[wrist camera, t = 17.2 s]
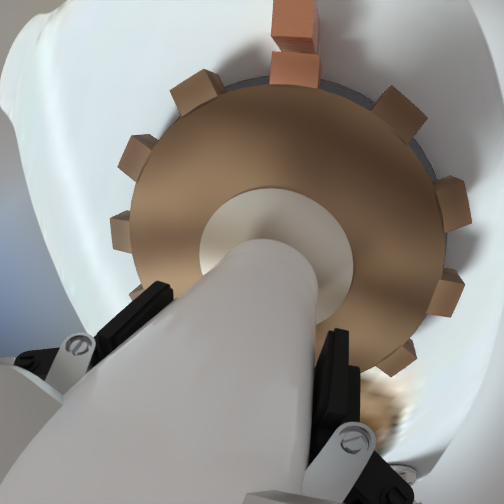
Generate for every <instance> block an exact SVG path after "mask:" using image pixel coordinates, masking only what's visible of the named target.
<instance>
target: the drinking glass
mask: <svg viewBox="0 0 504 504" xmlns="http://www.w3.org/2000/svg"><path fill="white" fill-rule="evenodd" d="M318 293H319V290H318V281H317V277H316V274H315V272H314V270H313V268H312V266H311V264H310V263H309V261H308V260H307V259H306V258H305V257H304V256H303V255H302V254H301V253H300V252H299V251H298V250H296V249H295V248H293V247H291V246H290V245H288V244H286V243H283V242H280V241H277V240H272V239H253V240H249V241H245V242H243V243H240V244H238V245H237V246H235V247H233V248H232V249H231V250H230V251H228V252H227V253H226V254H225V255H224V256H223V258H222V259H221V260H220V261H219V262H218V263H217V264H216V265H215V266H214V267H213V268H211V269H210V270H209V271H208V272H207V273H206V274H204V275H203V276H202V277H201V278H200V279H198V280H197V281H196V282H195V283H194V284H192V285H191V286H190V287H189V288H188V289H186V290H185V291H184V292H183V293H182V294H180V295H179V296H178V297H177V298H176V299H174V300H173V301H172V302H171V303H170V304H168V305H167V306H166V307H165V308H164V309H162V310H161V311H160V312H159V313H158V314H156V315H155V316H154V317H153V318H152V319H150V320H149V321H148V322H147V323H146V324H144V325H143V326H142V327H141V328H139V329H138V330H137V331H136V332H135V333H133V334H132V335H131V336H130V337H129V338H127V339H126V340H125V341H124V342H123V343H121V344H120V345H119V346H118V347H117V348H116V349H114V350H113V351H112V352H111V353H110V354H108V355H107V356H106V357H105V358H104V359H102V360H101V361H100V362H99V363H98V364H97V365H96V366H94V367H93V368H92V369H91V370H90V371H89V372H87V373H86V374H85V375H84V376H83V377H82V378H81V379H80V380H78V381H77V382H76V383H75V384H74V385H73V386H72V387H71V388H70V389H69V390H68V391H67V392H65V393H64V394H63V395H64V398H63V406H62V407H61V408H60V409H59V410H58V411H57V412H56V413H55V414H54V416H53V417H52V418H51V419H50V420H49V421H48V422H47V423H46V424H45V426H44V427H43V428H42V429H41V430H40V431H39V432H38V434H37V435H36V436H35V437H34V438H33V440H32V441H31V442H30V443H29V445H28V446H27V447H26V448H25V450H24V451H23V452H22V454H21V455H20V456H19V458H18V459H17V461H16V462H15V463H14V465H13V466H12V468H11V469H10V470H9V472H8V473H7V475H6V476H5V478H4V480H3V481H2V483H1V484H0V504H242V503H243V501H244V498H245V495H246V493H254V492H261V491H269V490H278V491H283V492H287V493H292V494H297V495H302V489H303V483H304V477H305V471H306V470H307V468H308V463H309V454H310V442H311V429H312V414H313V396H314V374H315V344H316V310H317V303H318Z"/></svg>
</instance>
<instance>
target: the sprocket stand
mask: <svg viewBox="0 0 504 504" xmlns="http://www.w3.org/2000/svg"><path fill="white" fill-rule="evenodd" d="M318 32H319V16H318V10H317V5H316V0H273V14H272V28H271V37H272V38H273V40H274V41H275V43H276V44H277V46H278V47H279V49H280V50H281V52H292V53H305V54H316V55H317V54H318ZM269 82H270V76H264V77H259V78H254V79H249V80H245V81H241V82H238V83H235V84H232V85H230V86H227V87H224V88H225V90H226V92H230V91H234V90H237V89H240V88H245V87H251V86H258V85H265V84H269ZM320 89H321V90H324V91H327V92H330V93H333V94H336V95H339V96H342V97H345V98H347V99H349V100H351V101H353V102H355V103H357V104H358V105H360V106H362V107H364V108H366V109H368V110H369V111H370V109H371V108H372V107H373V106H374V104H375V102H373V101H372V100H370V99H369V98H367V97H365V96H364V95H362V94H360V93H358V92H356V91H353V90H351V89H349V88H346V87H344V86H342V85H339V84H336V83H333V82H329V81H325V80H320ZM180 118H181V116H180V117H179V118H178V119H177V120H176V122H177V121H178V120H179V119H180ZM408 145H409V146H410V147H411V149H412V150H413V151H414V153H415V154H416V156H417V157H418V159H419V160H420V161H421V163H422V164H423V166H424V168H425V170H426V172H427V174H428V176H429V178H430V180H431V182H433V181H436V180H437V178H436V176H435V173H434V171H433V168H432V166H431V164H430V162H429V161H428V159H427V157H426V156H425V154H424V152H423V151H422V149H421V147H420V146H419V144H418V143H417V142H416V140H415V139H414V138H412V139H411V140H410V141H409V143H408ZM446 241H447V232H446V233H445V253H446Z"/></svg>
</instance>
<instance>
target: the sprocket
mask: <svg viewBox="0 0 504 504" xmlns="http://www.w3.org/2000/svg"><path fill="white" fill-rule="evenodd" d="M321 67H322V64H321V58H320V55H316V54H305V53H292V52H273V51H272V60H271V71H270V82H269V84H265V85H258V86H251V87H245V88H240V89H237V90H234V91H230V92H226V90H225V88H224V86H223V84H222V82H221V80H220V78H219V76H218V75H217V74H215V73H213V72H210V71H208V70H206V69H203V70H201V71H199V72H198V73H196V74H194V75H193V76H191V77H190V78H188V79H186V80H185V81H183V82H182V83H180V84H179V85H177V86H176V87H174V88H173V89H171V90H170V93H171V95H172V97H173V99H174V101H175V104H176V106H177V108H178V110H179V112H180V114H181V118H180V119H179V120H178V121H177V122H175V123H174V124H173V125H172V126H171V127H170V128H169V129H168V130H167V131H166V132H165V133H164V134H163V136H162V137H161V138H160V140H157V139H156V138H154V137H153V136H151V135H150V134H144V135H132V136H131V137H130V139H129V142H128V144H127V146H126V148H125V151H124V153H123V155H122V157H121V160H120V162H119V165H118V168H119V169H120V170H121V171H123V172H124V173H125V174H126V175H128V176H129V177H130V178H131V179H133V180H134V181H135V182H136V185H135V189H134V193H133V197H132V201H131V210H130V211H128V210H127V211H124V212H122V213H120V214H118V215H115V216H113V217H111V218H110V225H111V235H112V244H113V249H115V250H119V251H123V252H127V253H131V254H132V256H133V259H134V263H135V267H136V270H137V273H138V276H139V279H140V281H141V284H140V285H139V286H138V287H137V288H136V289H134V290H133V291H132V292H131V293H130V294H129V296H130V298H131V299H132V301H133V300H134V299H135V298H137V297H138V296H139V295H140V294H141V293H142V292H143V291H145V290H146V289H147V288H148V287H149V286H150V285H151V284H153V283H154V282H155V281H161V282H164V283H167V284H169V285H170V287H171V288H172V289H173V293H174V299H176V298H177V297H178V296H179V295H180V294H182V293H183V292H184V291H185V290H186V289H188V288H189V287H190V286H191V285H192V284H194V283H195V282H196V281H197V280H198V279H200V278H201V277H202V276H203V275H204V274H206V273H207V272H208V271H209V270H210V269H211V268H213V267H214V266H215V265H216V264H217V263H218V262H219V261H220V260H221V259H222V258H223V256H224V255H225V254H226V253H227V252H228V251H230V250H231V249H232V248H233V247H235V246H237V245H238V244H240V243H243V242H245V241H249V240H253V239H272V240H277V241H280V242H283V243H286V244H288V245H290V246H291V247H293V248H295V249H296V250H298V251H299V252H300V253H301V254H302V255H303V256H304V257H305V258H306V259H307V260H308V261H309V263H310V264H311V266H312V268H313V270H314V272H315V274H316V277H317V281H318V290H319V293H318V303H317V310H316V344H315V366H316V363H317V360H318V358H319V355H320V353H321V350H322V347H323V344H324V342H325V339H326V336H327V333H328V331H329V330H331V331H334V329H335V328H339V329H344V330H348V331H349V365H352V366H358V367H360V373H362V372H364V371H366V370H368V369H370V368H372V367H374V366H376V367H378V368H379V369H380V370H382V371H383V372H384V373H386V374H387V375H389V376H390V377H392V376H394V375H395V374H397V373H398V372H400V371H401V370H402V369H404V368H405V367H407V366H408V365H409V364H411V363H412V362H413V361H415V360H416V359H417V356H416V352H415V348H414V344H413V341H412V340H411V339H410V337H411V336H412V335H413V333H414V332H415V331H416V330H417V328H418V327H419V325H420V324H421V322H422V321H423V320H424V318H425V317H426V315H427V314H431V315H438V316H444V317H451V316H452V314H453V312H454V310H455V307H456V305H457V303H458V301H459V298H460V296H461V293H462V291H463V289H464V286H465V284H464V282H463V281H462V279H461V278H460V276H459V275H458V274H457V272H456V271H455V270H453V269H448V268H443V266H444V260H445V233H446V232H449V231H452V230H455V229H457V228H460V227H463V226H466V225H468V224H471V223H472V219H471V213H470V208H469V203H468V198H467V193H466V188H465V184H464V181H462V180H460V179H457V178H455V177H452V176H448V177H445V178H442V179H439V180H436V181H433V182H431V180H430V178H429V176H428V174H427V172H426V170H425V168H424V166H423V164H422V163H421V161H420V160H419V159H418V157H417V156H416V154H415V153H414V151H413V150H412V149H411V147H410V146H409V145H408V143H409V141H410V140H411V139H412V138H413V136H414V135H415V134H416V133H417V131H418V130H419V129H420V127H421V126H422V125H423V124H424V122H425V121H426V120H427V118H428V117H426V116H425V115H424V114H423V113H422V112H421V111H420V110H419V109H418V108H417V107H416V106H415V105H414V104H413V103H411V102H410V101H409V100H408V99H407V98H406V97H405V96H404V95H402V94H401V93H400V92H399V91H398V90H397V89H395V88H394V87H393V86H392V85H391V86H390V87H389V88H388V89H387V90H386V91H385V92H384V93H383V94H382V95H381V97H380V98H379V99H378V100H377V102H376V103H375V104H374V106H373V107H372V108H371V109H370V111H369V110H368V109H366V108H364V107H362V106H360V105H358V104H357V103H355V102H353V101H351V100H349V99H347V98H345V97H342V96H339V95H336V94H333V93H330V92H327V91H324V90H321V89H320V80H321Z"/></svg>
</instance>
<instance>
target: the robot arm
mask: <svg viewBox="0 0 504 504" xmlns="http://www.w3.org/2000/svg"><path fill="white" fill-rule="evenodd" d="M173 300H174V293H173V289H172V288H171V287H170V285H169V284H167V283H164V282H161V281H155V282H154V283H153V284H151V285H150V286H149V287H148V288H147V289H146V290H145V291H143V292H142V293H141V294H140V295H139V296H138V297H137V298H135V299H134V300H133V301H132V302H131V303H130V304H129V305H128V306H126V307H125V308H124V309H123V310H122V311H121V312H120V313H119V314H117V315H116V316H115V317H114V318H113V319H112V320H111V321H110V322H109V323H107V324H106V325H105V326H104V327H103V328H102V329H101V330H100V331H99V332H98V333H97V335H96V336H94V337H92V336H91V335H89V334H87V333H74V334H72V335H70V336H68V337H67V338H66V339H65V340H64V342H63V343H62V345H61V347H60V348H52V349H42V350H32V351H26V352H23V353H21V354H20V355H19V356H18V357H17V358H16V359H15V357H5V358H0V484H1V483H2V481H3V480H4V478H5V476H6V475H7V473H8V472H9V470H10V469H11V468H12V466H13V465H14V463H15V462H16V461H17V459H18V458H19V456H20V455H21V454H22V452H23V451H24V450H25V448H26V447H27V446H28V445H29V443H30V442H31V441H32V440H33V438H34V437H35V436H36V435H37V434H38V432H39V431H40V430H41V429H42V428H43V427H44V426H45V424H46V423H47V422H48V421H49V420H50V419H51V418H52V417H53V416H54V414H55V413H56V412H57V411H58V410H59V409H60V408H61V407H62V406H63V398H64V395H63V394H64V393H65V392H67V391H68V390H69V389H70V388H71V387H72V386H73V385H74V384H75V383H76V382H77V381H78V380H80V379H81V378H82V377H83V376H84V375H85V374H86V373H87V372H89V371H90V370H91V369H92V368H93V367H94V366H96V365H97V364H98V363H99V362H100V361H101V360H102V359H104V358H105V357H106V356H107V355H108V354H110V353H111V352H112V351H113V350H114V349H116V348H117V347H118V346H119V345H120V344H121V343H123V342H124V341H125V340H126V339H127V338H129V337H130V336H131V335H132V334H133V333H135V332H136V331H137V330H138V329H139V328H141V327H142V326H143V325H144V324H146V323H147V322H148V321H149V320H150V319H152V318H153V317H154V316H155V315H156V314H158V313H159V312H160V311H161V310H162V309H164V308H165V307H166V306H167V305H168V304H170V303H171V302H172V301H173ZM375 446H376V437H375V435H374V433H373V431H372V430H371V429H370V428H369V427H367V426H366V425H364V424H362V423H360V367H358V366H352V365H349V331H348V330H344V329H339V328H335V329H334V331H331V330H329V331H328V333H327V336H326V339H325V342H324V344H323V347H322V350H321V353H320V355H319V358H318V360H317V363H316V366H315V374H314V396H313V414H312V429H311V442H310V454H309V463H308V468H307V470H306V471H305V477H304V483H303V489H302V495H297V494H292V493H287V492H283V491H278V490H269V491H261V492H254V493H246V495H245V498H244V501H243V503H242V504H422V503H421V502H420V503H417V502H416V501H415V500H414V492H413V490H412V488H411V486H410V485H411V484H413V483H414V481H415V480H416V471H415V470H414V469H413V468H411V467H407V466H400V465H389V464H388V463H387V462H386V461H385V460H384V459H383V458H382V457H381V456H380V455H379V454H378V453H377V452H376V451H375V450H374V449H375Z"/></svg>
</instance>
